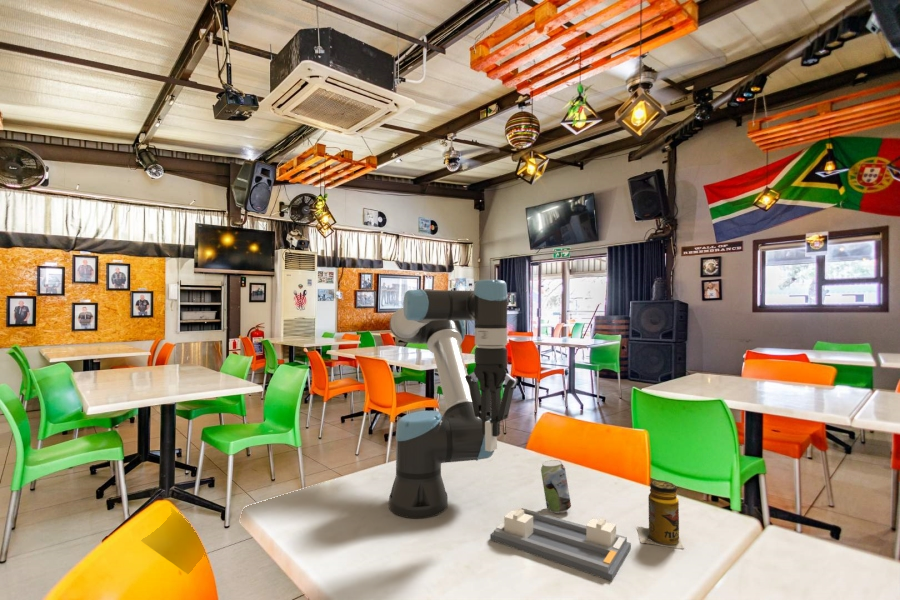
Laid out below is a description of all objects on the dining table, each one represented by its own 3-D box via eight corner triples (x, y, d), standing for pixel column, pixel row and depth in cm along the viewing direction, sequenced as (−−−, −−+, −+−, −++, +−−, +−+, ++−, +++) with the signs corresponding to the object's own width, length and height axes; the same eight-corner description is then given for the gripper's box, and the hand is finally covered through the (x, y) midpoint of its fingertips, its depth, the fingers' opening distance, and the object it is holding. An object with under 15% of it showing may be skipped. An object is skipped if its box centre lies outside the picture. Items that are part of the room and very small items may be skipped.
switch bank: (490, 539, 98) (490, 528, 98) (519, 516, 109) (519, 506, 109) (612, 581, 83) (612, 568, 83) (630, 548, 94) (630, 537, 94)
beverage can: (571, 517, 109) (571, 467, 109) (541, 514, 110) (540, 465, 111) (570, 506, 115) (569, 459, 115) (541, 503, 116) (540, 457, 117)
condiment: (683, 549, 94) (683, 491, 94) (640, 543, 96) (639, 487, 97) (677, 533, 101) (676, 479, 101) (637, 527, 103) (636, 475, 104)
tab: (504, 533, 98) (504, 513, 98) (512, 526, 101) (512, 506, 101) (525, 540, 95) (525, 519, 95) (533, 532, 98) (533, 512, 98)
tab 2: (586, 542, 94) (586, 521, 94) (592, 535, 97) (592, 514, 97) (610, 550, 91) (610, 528, 91) (616, 542, 94) (616, 520, 94)
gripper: (458, 346, 104) (458, 448, 103) (508, 348, 96) (508, 459, 96) (475, 344, 110) (475, 441, 109) (523, 346, 102) (524, 450, 102)
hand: (491, 449), depth 102 cm, fingers closed
